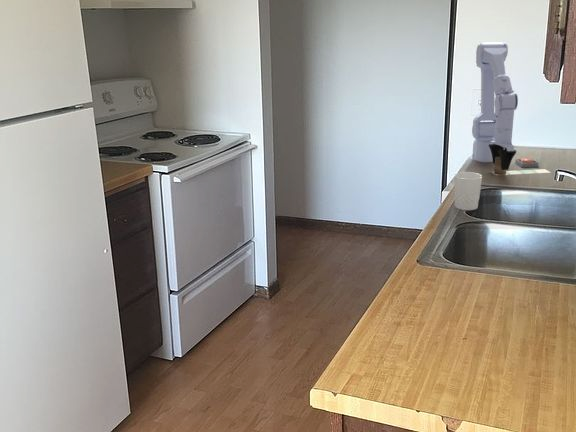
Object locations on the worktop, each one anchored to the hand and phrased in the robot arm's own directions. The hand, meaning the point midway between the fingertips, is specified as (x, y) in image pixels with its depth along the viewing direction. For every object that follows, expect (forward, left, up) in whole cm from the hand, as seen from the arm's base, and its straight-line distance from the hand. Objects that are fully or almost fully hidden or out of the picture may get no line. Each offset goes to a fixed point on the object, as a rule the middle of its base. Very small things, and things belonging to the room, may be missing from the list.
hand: (500, 166), depth 217 cm
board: (0, +8, -3) cm, 8 cm away
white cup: (+31, -22, -4) cm, 38 cm away
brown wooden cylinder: (0, 0, -2) cm, 2 cm away
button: (-9, +14, -3) cm, 17 cm away
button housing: (-9, +14, -3) cm, 17 cm away
